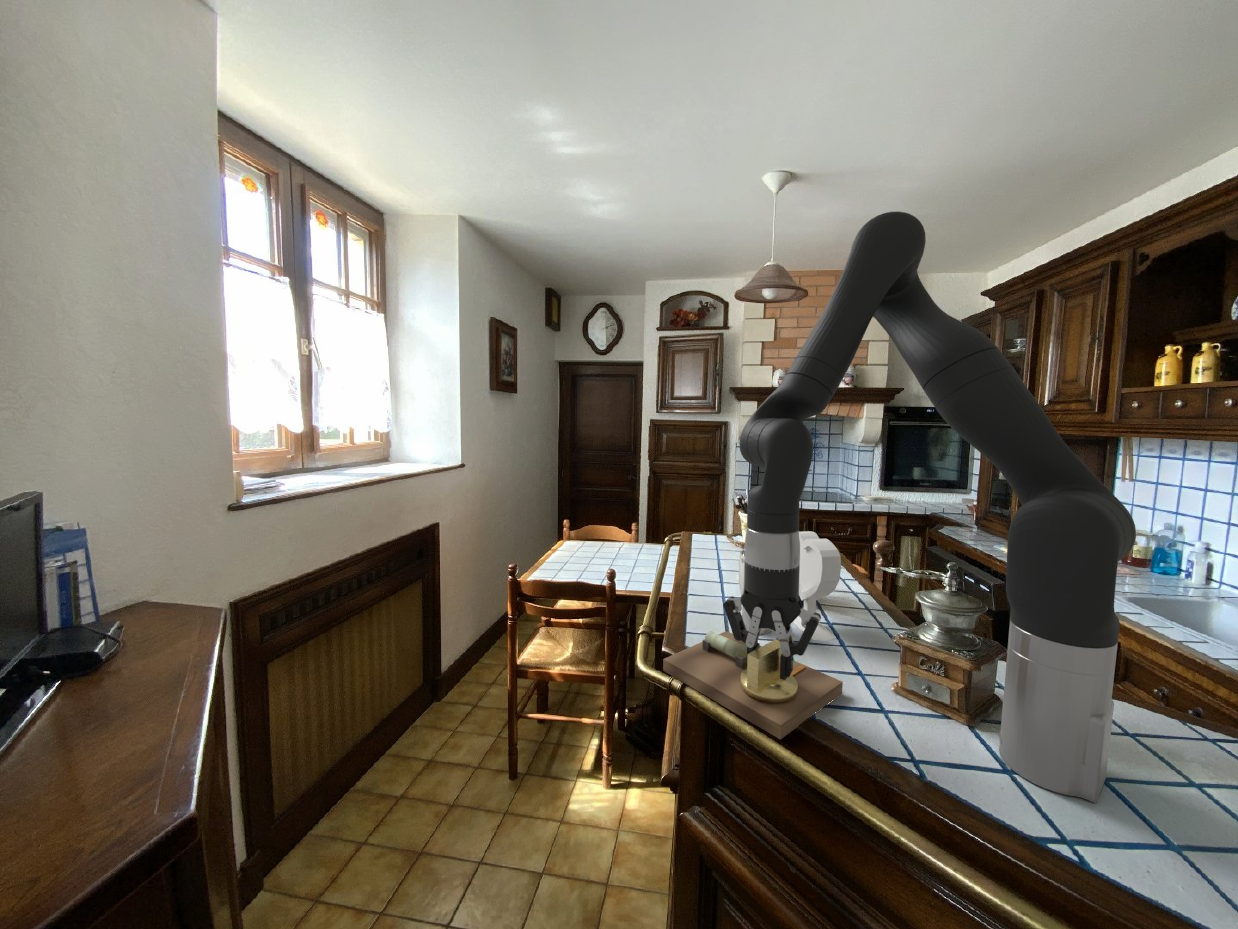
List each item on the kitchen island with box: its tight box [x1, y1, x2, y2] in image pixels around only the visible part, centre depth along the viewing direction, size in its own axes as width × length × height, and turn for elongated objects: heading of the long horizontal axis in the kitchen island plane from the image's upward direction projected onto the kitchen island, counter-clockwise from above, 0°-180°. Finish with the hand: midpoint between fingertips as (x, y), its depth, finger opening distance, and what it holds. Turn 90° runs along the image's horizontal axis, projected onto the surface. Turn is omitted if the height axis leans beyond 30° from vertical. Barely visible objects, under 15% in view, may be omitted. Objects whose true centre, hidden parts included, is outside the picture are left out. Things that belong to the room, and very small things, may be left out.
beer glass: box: [738, 549, 773, 635], centre depth 96 cm, size 7×7×15 cm
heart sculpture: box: [792, 530, 842, 642], centre depth 97 cm, size 16×5×18 cm, turn 5°
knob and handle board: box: [662, 630, 843, 740], centre depth 77 cm, size 22×16×5 cm
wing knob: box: [740, 637, 798, 703], centre depth 72 cm, size 8×8×6 cm
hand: (769, 672), depth 72 cm, fingers open, 3 cm apart
